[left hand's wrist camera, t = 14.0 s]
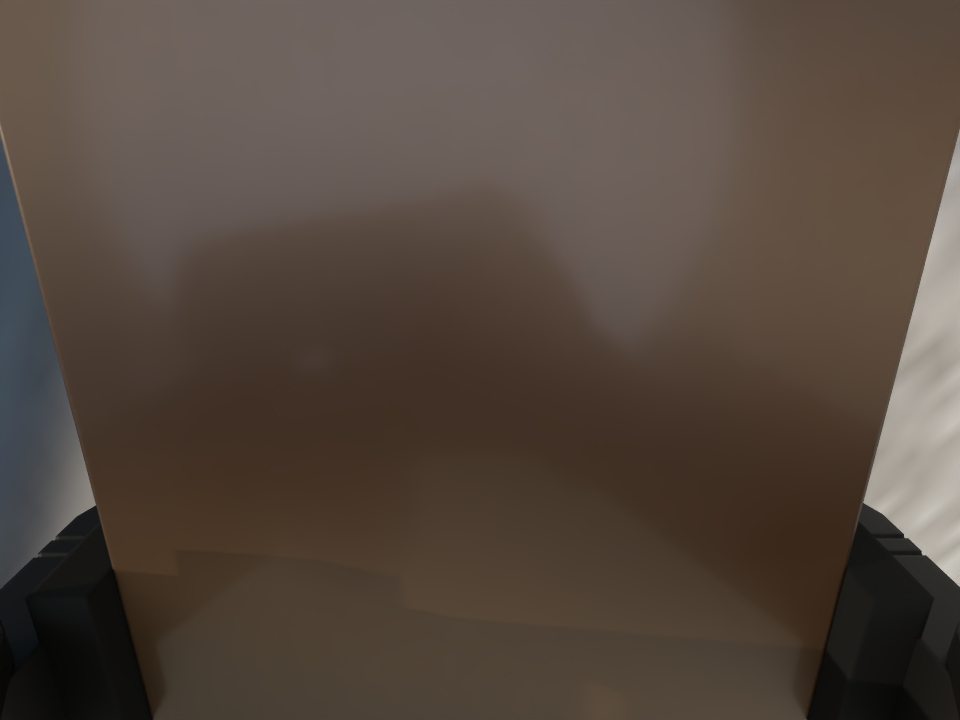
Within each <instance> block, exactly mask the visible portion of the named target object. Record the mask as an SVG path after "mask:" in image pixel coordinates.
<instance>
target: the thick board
mask: <svg viewBox="0 0 960 720" xmlns="http://www.w3.org/2000/svg"><path fill="white" fill-rule="evenodd" d="M959 129H960V0H0V138H1V141H2V145H3V149H4V153H5V157H6V161H7V165H8V168H9V172H10V176H11V180H12V184H13V188H14V191H15V195H16V199H17V203H18V207H19V211H20V214H21V218H22V222H23V226H24V230H25V234H26V237H27V241H28V245H29V249H30V253H31V257H32V261H33V264H34V268H35V272H36V276H37V280H38V284H39V287H40V291H41V295H42V299H43V303H44V307H45V310H46V314H47V318H48V322H49V326H50V330H51V333H52V337H53V341H54V345H55V349H56V353H57V357H58V360H59V364H60V368H61V372H62V376H63V380H64V383H65V387H66V391H67V395H68V399H69V403H70V406H71V410H72V414H73V418H74V422H75V426H76V429H77V433H78V437H79V441H80V445H81V449H82V453H83V456H84V460H85V464H86V468H87V472H88V476H89V479H90V483H91V487H92V491H93V495H94V499H95V502H96V506H97V510H98V514H99V518H100V522H101V526H102V529H103V533H104V537H105V541H106V545H107V549H108V552H109V556H110V560H111V564H112V568H113V572H114V575H115V579H116V583H117V587H118V591H119V595H120V598H121V602H122V606H123V610H124V614H125V618H126V622H127V625H128V629H129V633H130V637H131V641H132V645H133V648H134V652H135V656H136V660H137V664H138V668H139V671H140V675H141V679H142V683H143V687H144V691H145V694H146V698H147V702H148V706H149V710H150V714H151V718H152V720H807V718H808V714H809V710H810V706H811V702H812V698H813V695H814V691H815V687H816V683H817V679H818V675H819V671H820V667H821V664H822V660H823V656H824V652H825V648H826V644H827V640H828V636H829V633H830V629H831V625H832V621H833V617H834V613H835V609H836V605H837V602H838V598H839V594H840V590H841V586H842V582H843V578H844V575H845V571H846V567H847V563H848V559H849V555H850V551H851V547H852V544H853V540H854V536H855V532H856V528H857V524H858V520H859V516H860V513H861V509H862V505H863V501H864V497H865V493H866V489H867V485H868V482H869V478H870V474H871V470H872V466H873V462H874V458H875V455H876V451H877V447H878V443H879V439H880V435H881V431H882V427H883V424H884V420H885V416H886V412H887V408H888V404H889V400H890V396H891V393H892V389H893V385H894V381H895V377H896V373H897V369H898V366H899V362H900V358H901V354H902V350H903V346H904V342H905V338H906V335H907V331H908V327H909V323H910V319H911V315H912V311H913V307H914V304H915V300H916V296H917V292H918V288H919V284H920V280H921V276H922V273H923V269H924V265H925V261H926V257H927V253H928V249H929V246H930V242H931V238H932V234H933V230H934V226H935V222H936V218H937V215H938V211H939V207H940V203H941V199H942V195H943V191H944V187H945V184H946V180H947V176H948V172H949V168H950V164H951V160H952V157H953V153H954V149H955V145H956V141H957V137H958V133H959Z"/></svg>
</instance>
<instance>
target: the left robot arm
mask: <svg viewBox="0 0 960 720" xmlns="http://www.w3.org/2000/svg"><path fill="white" fill-rule="evenodd" d="M921 552H922V551H921V550H920V549H919V548H918V547H917V546H916V545H915V544H914V543H912V542H911V541H910V540H909V539H908V538H904V534H903V533H902V532H901V531H900V530H899V529H898V528H897V527H896V526H895V525H893V524H892V523H891V522H890V521H889V520H888V519H887V518H886V517H885V516H884V515H883V514H881V513H879V512H878V511H876V510H874V509H873V508H871V507H869V506H867V505H866V504H864V503H863V505H862V509H861V513H860V516H859V520H858V524H857V528H856V532H855V536H854V540H853V544H852V547H851V551H850V555H849V559H848V563H847V567H846V571H845V575H844V578H843V582H842V586H841V590H840V594H839V598H838V602H837V605H836V609H835V613H834V617H833V621H832V625H831V629H830V633H829V636H828V640H827V644H826V648H825V652H824V656H823V660H822V664H821V667H820V671H819V675H818V679H817V683H816V687H815V691H814V695H813V698H812V702H811V706H810V710H809V714H808V718H807V720H960V587H959V586H958V585H957V584H956V583H955V582H954V581H953V580H952V579H951V578H950V577H948V576H947V575H946V574H945V573H944V572H943V571H942V570H941V569H940V568H939V567H938V566H937V565H936V564H935V563H934V562H933V561H932V560H930V559H929V558H928V557H927V556H926V555H922V553H921ZM0 720H152V718H151V714H150V710H149V706H148V702H147V698H146V694H145V691H144V687H143V683H142V679H141V675H140V671H139V668H138V664H137V660H136V656H135V652H134V648H133V645H132V641H131V637H130V633H129V629H128V625H127V622H126V618H125V614H124V610H123V606H122V602H121V598H120V595H119V591H118V587H117V583H116V579H115V575H114V572H113V568H112V564H111V560H110V556H109V552H108V549H107V545H106V541H105V537H104V533H103V529H102V526H101V522H100V518H99V514H98V510H97V506H94V507H93V508H91V509H89V510H87V511H86V512H84V513H82V514H80V515H79V516H77V517H76V518H75V519H74V520H73V521H72V522H71V523H70V524H69V525H68V526H66V527H65V528H64V529H63V530H62V531H61V532H60V533H59V534H58V535H57V536H56V540H55V541H51V542H50V543H49V544H48V545H47V546H45V547H44V548H43V549H42V550H41V551H40V552H39V553H38V557H37V558H33V559H32V560H31V561H30V562H29V563H28V564H27V565H25V566H24V567H23V568H22V569H21V570H20V571H19V572H18V573H17V574H16V575H15V576H14V577H13V578H12V579H11V580H10V581H9V582H8V583H7V584H6V585H4V586H3V587H2V588H1V589H0Z"/></svg>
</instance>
